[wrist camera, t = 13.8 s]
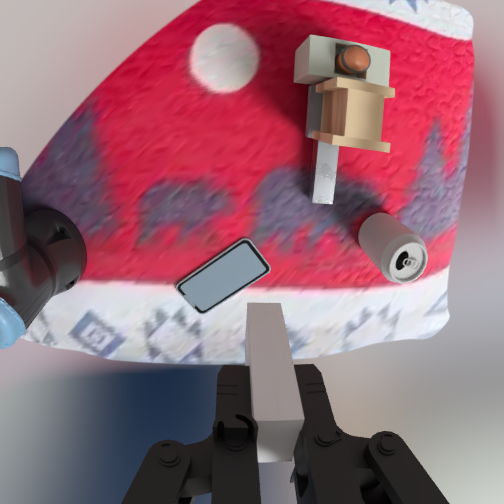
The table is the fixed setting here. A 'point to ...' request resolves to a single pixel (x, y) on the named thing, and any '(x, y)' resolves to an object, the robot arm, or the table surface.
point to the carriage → (347, 113)
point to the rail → (323, 172)
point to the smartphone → (223, 276)
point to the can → (393, 248)
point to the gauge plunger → (352, 60)
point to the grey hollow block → (323, 62)
